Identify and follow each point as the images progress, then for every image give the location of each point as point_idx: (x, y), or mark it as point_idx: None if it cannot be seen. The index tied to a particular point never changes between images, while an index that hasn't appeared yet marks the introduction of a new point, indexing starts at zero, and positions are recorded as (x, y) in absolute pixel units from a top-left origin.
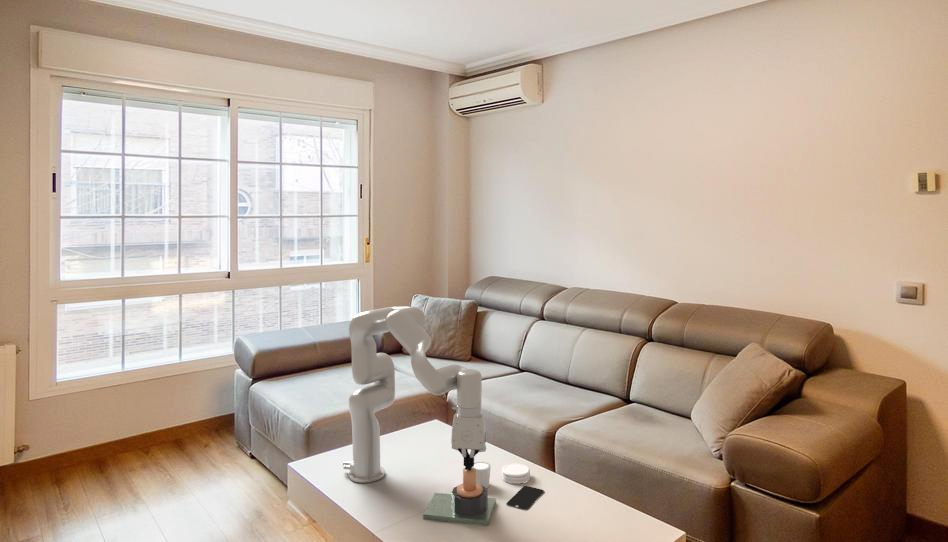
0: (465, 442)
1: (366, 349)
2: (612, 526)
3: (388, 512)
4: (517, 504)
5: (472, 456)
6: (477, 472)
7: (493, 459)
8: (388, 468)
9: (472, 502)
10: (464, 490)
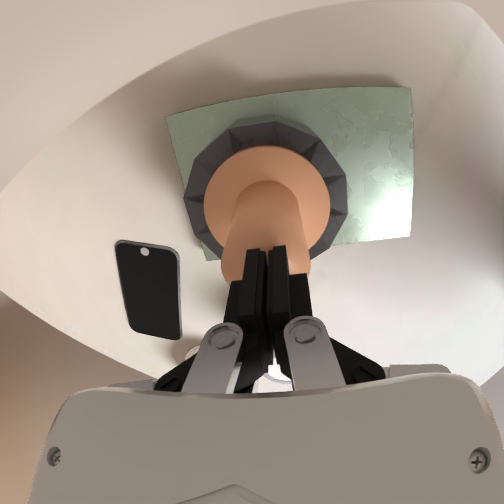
0: (265, 493)
1: None
2: None
3: (493, 115)
4: (147, 260)
5: (216, 334)
6: None
7: None
8: (498, 310)
9: (223, 132)
10: (283, 184)
